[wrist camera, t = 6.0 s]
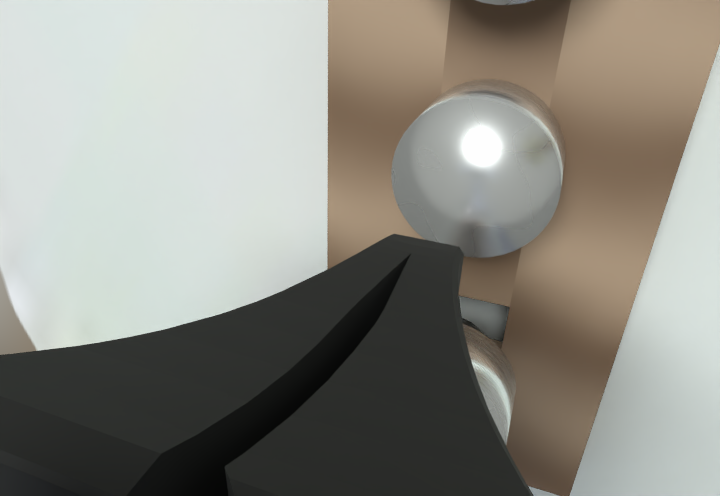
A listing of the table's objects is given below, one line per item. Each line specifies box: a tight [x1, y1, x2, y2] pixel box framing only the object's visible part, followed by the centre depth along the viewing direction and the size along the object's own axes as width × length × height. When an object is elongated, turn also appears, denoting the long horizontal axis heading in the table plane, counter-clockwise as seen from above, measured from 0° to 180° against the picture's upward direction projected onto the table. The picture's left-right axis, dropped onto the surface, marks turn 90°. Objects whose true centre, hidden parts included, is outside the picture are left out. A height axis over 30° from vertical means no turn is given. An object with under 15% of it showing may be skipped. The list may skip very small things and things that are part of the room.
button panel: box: [328, 0, 720, 496], centre depth 17 cm, size 26×10×2 cm, turn 178°
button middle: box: [391, 79, 565, 258], centre depth 16 cm, size 4×4×4 cm
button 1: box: [462, 318, 516, 445], centre depth 18 cm, size 4×4×4 cm
